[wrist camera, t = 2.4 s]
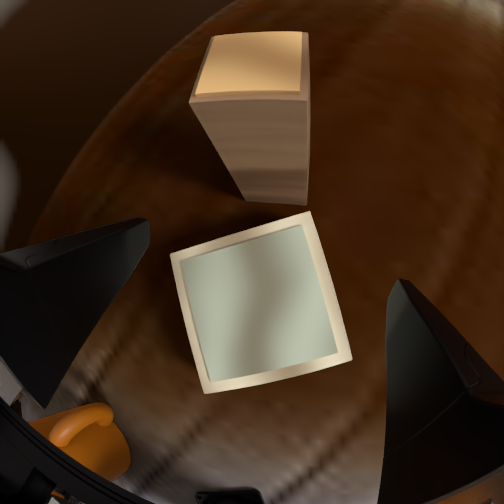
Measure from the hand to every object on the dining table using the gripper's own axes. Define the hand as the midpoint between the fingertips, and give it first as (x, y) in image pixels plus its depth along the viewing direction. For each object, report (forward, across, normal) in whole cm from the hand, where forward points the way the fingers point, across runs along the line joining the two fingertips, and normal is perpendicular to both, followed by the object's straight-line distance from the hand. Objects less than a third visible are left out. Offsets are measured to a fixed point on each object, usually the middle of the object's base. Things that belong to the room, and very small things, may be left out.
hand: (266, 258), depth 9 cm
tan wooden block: (+15, +2, +2) cm, 16 cm away
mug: (-3, +13, +25) cm, 28 cm away
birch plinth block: (+8, 0, +10) cm, 13 cm away
